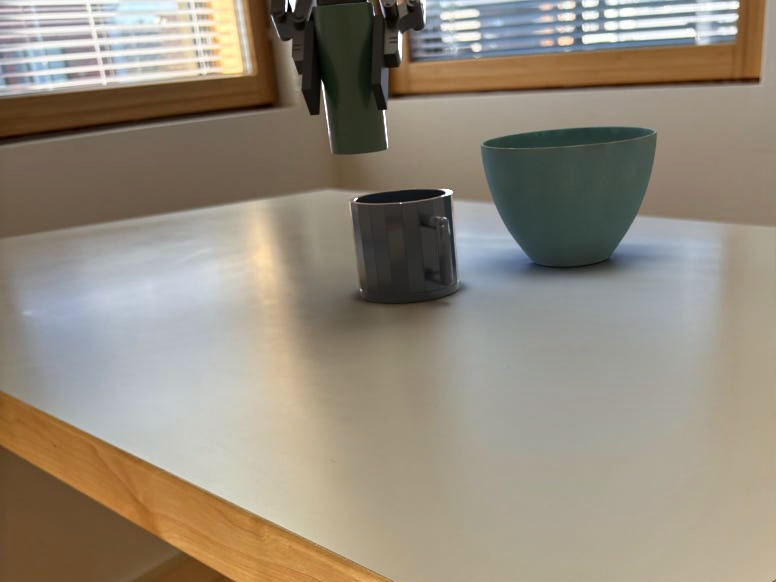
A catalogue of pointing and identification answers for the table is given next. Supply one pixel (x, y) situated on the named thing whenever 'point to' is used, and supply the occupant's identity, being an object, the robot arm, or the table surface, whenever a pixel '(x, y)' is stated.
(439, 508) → the table surface
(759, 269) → the table surface
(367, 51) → the flask
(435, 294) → the mug
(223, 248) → the table surface
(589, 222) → the green bowl
